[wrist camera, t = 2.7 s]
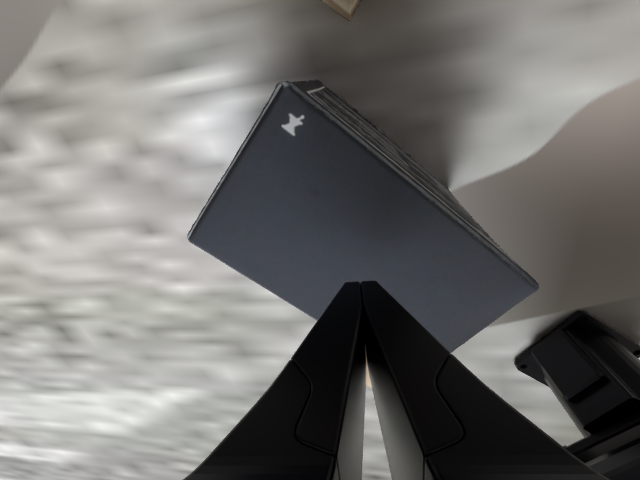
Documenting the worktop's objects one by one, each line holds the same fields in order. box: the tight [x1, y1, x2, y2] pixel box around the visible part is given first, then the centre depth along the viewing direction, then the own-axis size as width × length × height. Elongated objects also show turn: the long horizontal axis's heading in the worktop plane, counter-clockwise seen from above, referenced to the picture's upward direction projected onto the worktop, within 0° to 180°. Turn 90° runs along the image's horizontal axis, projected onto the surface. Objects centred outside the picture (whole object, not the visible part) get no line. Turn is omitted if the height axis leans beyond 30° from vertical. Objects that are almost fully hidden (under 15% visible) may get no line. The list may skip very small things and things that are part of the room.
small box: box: [187, 80, 539, 353], centre depth 15 cm, size 11×6×10 cm, turn 53°
